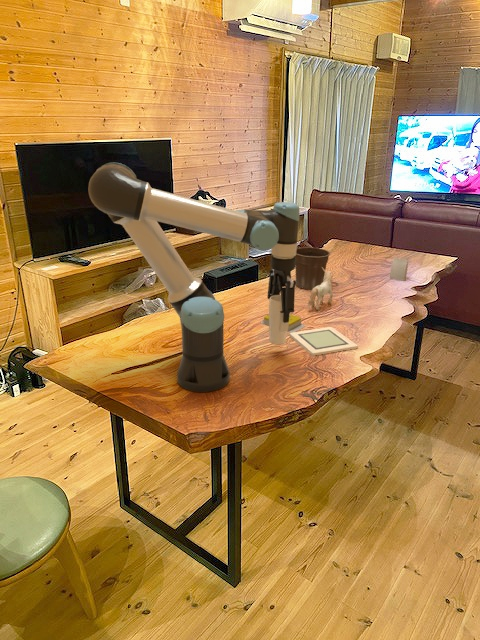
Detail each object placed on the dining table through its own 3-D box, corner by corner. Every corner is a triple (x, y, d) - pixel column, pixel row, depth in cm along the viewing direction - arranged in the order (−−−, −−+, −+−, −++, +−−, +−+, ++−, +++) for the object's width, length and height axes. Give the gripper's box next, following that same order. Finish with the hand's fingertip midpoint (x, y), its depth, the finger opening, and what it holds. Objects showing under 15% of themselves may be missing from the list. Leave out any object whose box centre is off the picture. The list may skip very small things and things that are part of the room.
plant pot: (334, 289, 218) (337, 254, 212) (302, 293, 213) (304, 257, 207) (315, 279, 232) (318, 246, 226) (285, 282, 227) (287, 248, 221)
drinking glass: (263, 343, 155) (265, 299, 150) (272, 336, 161) (274, 293, 155) (283, 348, 152) (286, 303, 147) (291, 340, 158) (294, 297, 152)
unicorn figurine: (335, 299, 206) (338, 269, 201) (324, 315, 190) (326, 282, 185) (319, 297, 209) (321, 267, 204) (306, 312, 193) (308, 279, 187)
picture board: (312, 356, 157) (313, 353, 156) (289, 335, 171) (289, 332, 171) (357, 348, 162) (358, 345, 162) (331, 329, 177) (331, 326, 177)
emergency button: (274, 306, 187) (307, 316, 178) (273, 316, 189) (306, 327, 180) (259, 313, 180) (293, 323, 172) (259, 324, 182) (292, 334, 173)
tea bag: (403, 281, 232) (406, 260, 228) (389, 278, 235) (392, 258, 231) (405, 279, 235) (408, 259, 231) (391, 276, 238) (394, 256, 234)
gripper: (310, 263, 139) (303, 337, 147) (280, 247, 155) (276, 314, 164) (286, 265, 136) (281, 340, 145) (259, 248, 153) (255, 316, 162)
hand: (278, 326), depth 154 cm, fingers closed on drinking glass, 7 cm apart
